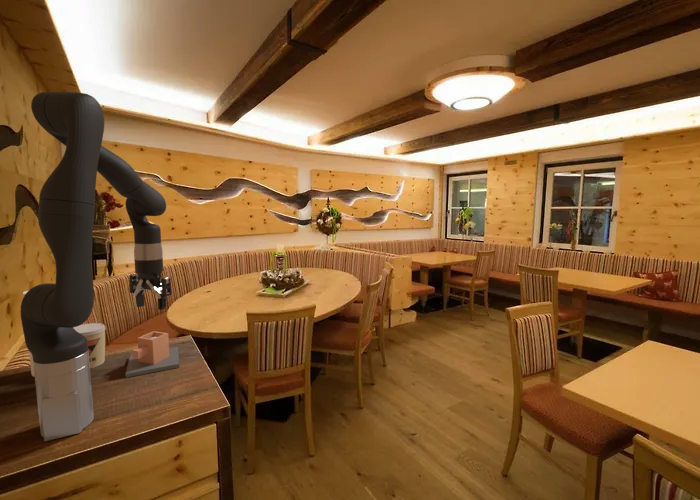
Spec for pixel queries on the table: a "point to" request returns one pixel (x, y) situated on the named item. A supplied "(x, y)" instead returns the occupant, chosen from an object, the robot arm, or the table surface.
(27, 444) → the table surface
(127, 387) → the table surface
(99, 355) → the coffee cup
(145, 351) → the orange hollow box
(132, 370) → the base
